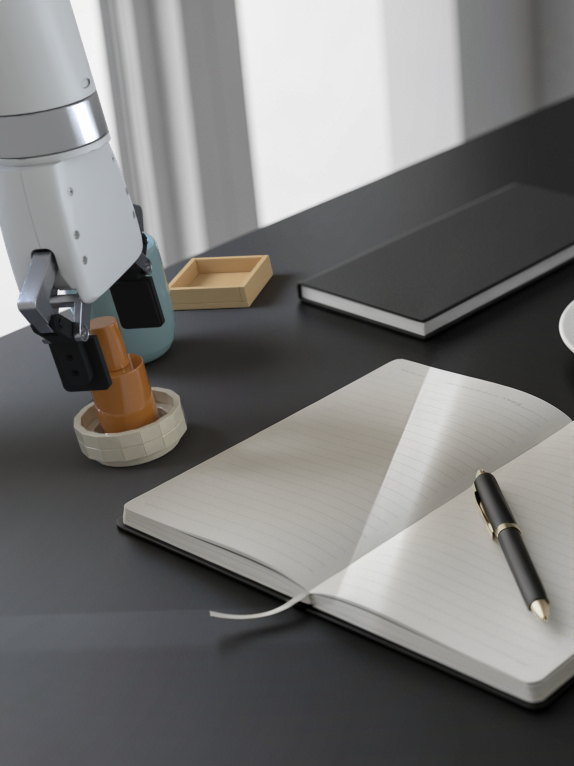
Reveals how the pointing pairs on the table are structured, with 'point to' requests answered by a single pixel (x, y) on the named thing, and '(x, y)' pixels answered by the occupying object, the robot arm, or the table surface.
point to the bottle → (122, 383)
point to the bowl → (133, 434)
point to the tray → (220, 282)
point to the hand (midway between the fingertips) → (118, 356)
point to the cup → (144, 339)
